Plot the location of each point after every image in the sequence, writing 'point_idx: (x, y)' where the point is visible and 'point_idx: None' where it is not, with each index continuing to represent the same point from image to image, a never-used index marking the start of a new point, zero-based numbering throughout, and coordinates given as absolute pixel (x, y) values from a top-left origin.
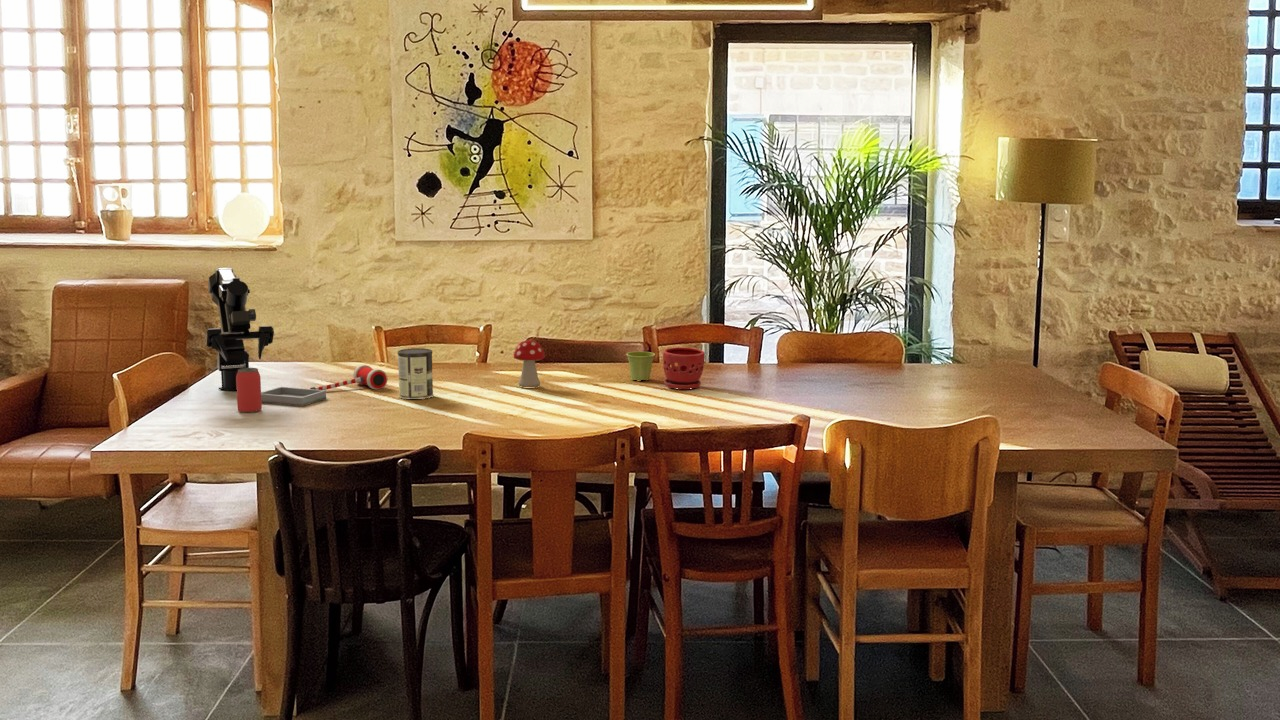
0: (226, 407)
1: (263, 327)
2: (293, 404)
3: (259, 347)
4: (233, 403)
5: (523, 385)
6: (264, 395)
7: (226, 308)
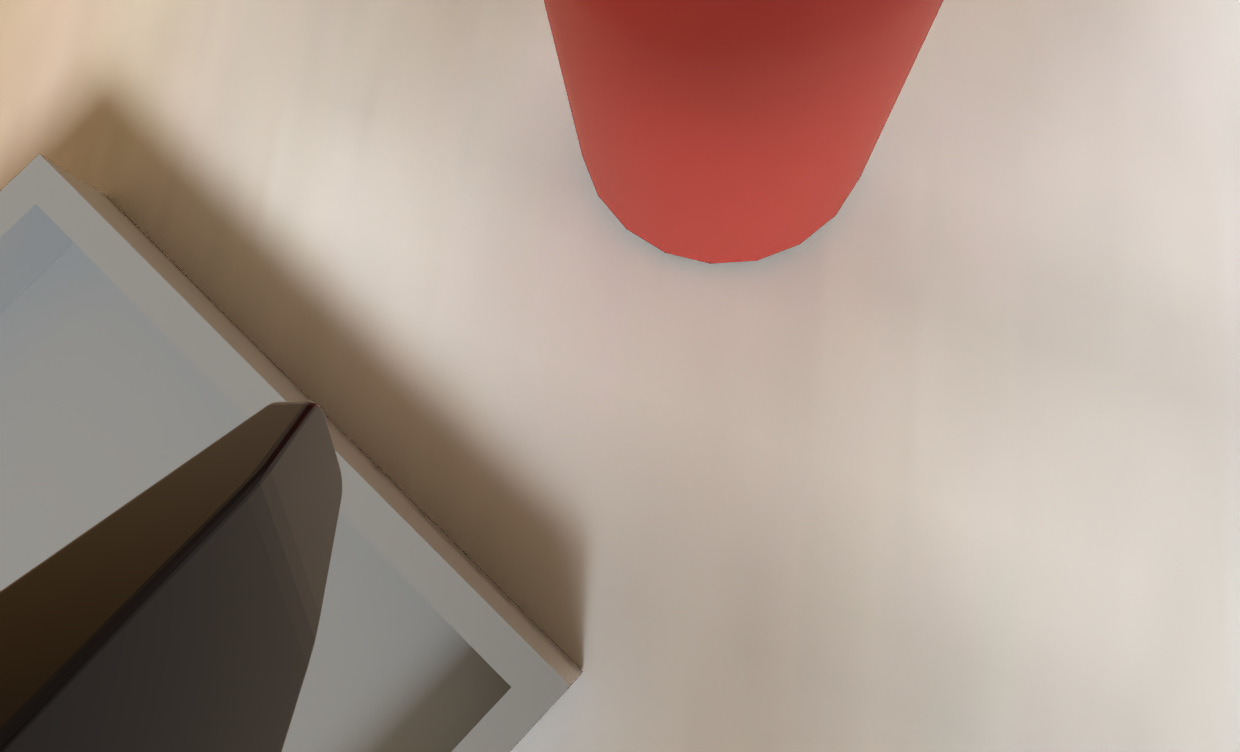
0: (988, 449)
1: None
2: (181, 273)
3: (95, 625)
4: (886, 696)
5: None
6: (464, 576)
7: None
